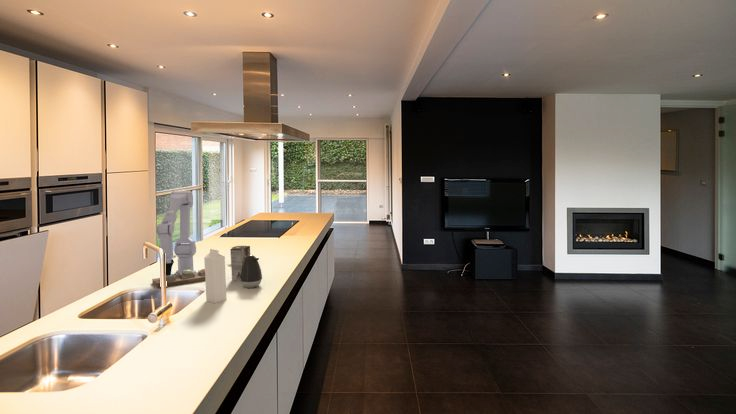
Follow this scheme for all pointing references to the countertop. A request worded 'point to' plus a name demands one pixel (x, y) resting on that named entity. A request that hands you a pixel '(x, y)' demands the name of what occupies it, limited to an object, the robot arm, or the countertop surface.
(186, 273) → the sage button
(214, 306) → the countertop surface
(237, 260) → the coffee box
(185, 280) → the button panel
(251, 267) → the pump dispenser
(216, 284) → the milk
